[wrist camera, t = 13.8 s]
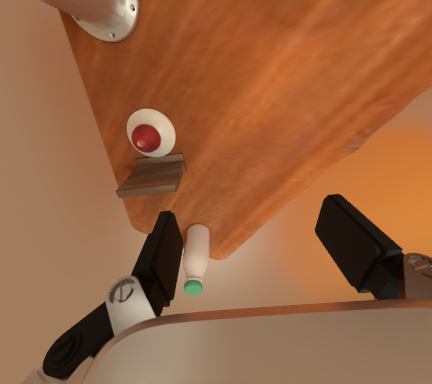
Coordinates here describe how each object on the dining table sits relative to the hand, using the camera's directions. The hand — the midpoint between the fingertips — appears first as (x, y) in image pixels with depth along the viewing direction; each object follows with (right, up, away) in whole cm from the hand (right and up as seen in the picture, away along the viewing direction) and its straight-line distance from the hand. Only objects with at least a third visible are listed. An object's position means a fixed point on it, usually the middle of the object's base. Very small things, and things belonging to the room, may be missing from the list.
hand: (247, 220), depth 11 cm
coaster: (-17, +16, +29) cm, 37 cm away
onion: (-17, +15, +28) cm, 37 cm away
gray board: (-16, +9, +34) cm, 38 cm away
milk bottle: (-8, -12, +48) cm, 50 cm away
